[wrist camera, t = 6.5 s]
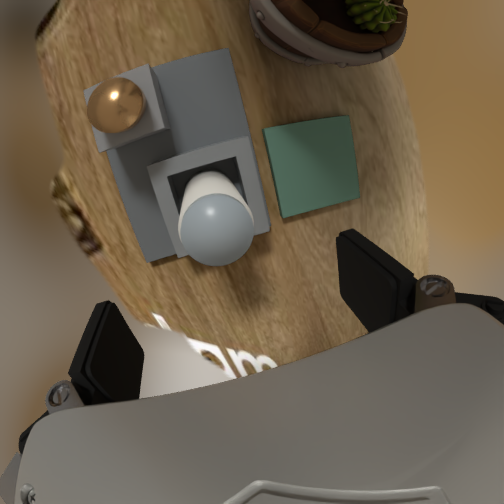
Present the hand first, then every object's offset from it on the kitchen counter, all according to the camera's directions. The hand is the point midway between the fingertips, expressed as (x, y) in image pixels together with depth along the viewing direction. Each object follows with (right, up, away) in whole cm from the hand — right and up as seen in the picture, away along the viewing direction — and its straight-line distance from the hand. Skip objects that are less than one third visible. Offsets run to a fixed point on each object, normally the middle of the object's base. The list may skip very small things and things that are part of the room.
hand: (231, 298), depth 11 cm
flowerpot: (+6, +27, +12) cm, 30 cm away
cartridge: (-4, +8, +17) cm, 19 cm away
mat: (+8, +12, +19) cm, 24 cm away
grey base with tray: (-6, +12, +16) cm, 21 cm away
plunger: (-11, +15, +11) cm, 22 cm away
